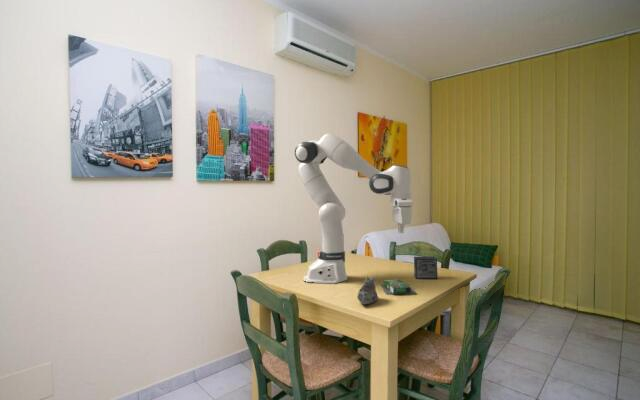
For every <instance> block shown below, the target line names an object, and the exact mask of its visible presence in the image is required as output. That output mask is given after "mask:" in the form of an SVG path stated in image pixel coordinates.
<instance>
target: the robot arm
mask: <svg viewBox="0 0 640 400" xmlns="http://www.w3.org/2000/svg"><path fill="white" fill-rule="evenodd" d="M294 157H295V159H296V161H297V162H299V163H300V164H299V165H298V168H297V169H298V174H299V176H300V178H301V179H300V180H301V181H302V183H303V186H304V187H305V189H306V190H307V192H308V195H309V196H310V197H311V199H312V200H313V201H314V202H315V204H316V205H317V206H318V208H319V209H318V210H319V211H318V219H319V225H320V232H321V240H322V241H321V245H322V246H321V248H322V249H321V250H318V251H317V255H318V258H317V259H316V260H315V261H314V262H313V263H311V264H310V265H309V267H308V268H307V269H308V270H307V273H306V274H305V275H303V279H302V281H303V280H304V281H306V282H305V283H307V282H314V283H313V284H338V283H341V282H345V281H347V280H348V274H347V272H346V271H347V270H346V264H345V263H346V252H345V236H344V231H343V230H344V229H343V224H342V223H343V222H342V221H343V220H344V219H345V217H346V208H345V206H344V205H343V203H342V202H341V200H340V199H339V198H338V196H337V194H336V193H335V192H334V190H333V188H332V187H331V186H330V184H329V182H328V181H327V179H326V177H325V175H324V174H323V172H322V170H321V167H320V165H322V164H323V163H325V161H326V159H329V160H330V161H331V162H333V163H334V164H336V165H337V166H339V167H341V168H343V169H348V170H352V171H354V172H357V173H359V174H362V175H363V176H364V177H365V178H367V179H368V180H369V182H368V185H369V188H370V191H372V193H374V194H376V195H385V196H389V195H390V206H391V207H392V214H391V215H392V221H393V222H396V223H397V224H396V225H397V232H398V233H399V234H404V231H405V225H410V224H411V221H412V207H413V206H414V202H413V200H412V192H411V187H412V176H411V175H412V174H411V170H410V168H409V167H407V166H405V165H400V164H393V165H391V166H390V167H388V169H386V170H384V171H383V170H382V171H381V170H380V169H378V168H377V167H375V166H374V165H373V164H371V163H369V162H368V161H367V160H366V159H365V158H364V157H363V156H361V154H359V153H358V151H356V150H355V148H353V146H351V145H350V144H349V143H348V142H346V141H345V140H343V139H342V138H340V137H339V136H337V135H335V134H332V133H326V134H323V136H322V137H320V139H310V140H307V141H303V142H300V143H299V144H297V145H296V147H295V149H294ZM304 281H303V282H304Z"/></svg>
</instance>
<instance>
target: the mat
mask: <svg viewBox="0 0 640 400" xmlns="http://www.w3.org/2000/svg"><path fill="white" fill-rule="evenodd" d="M405 284H406V285H408V286H410V284H408V283H405ZM383 285H384V284H380V287H381V288H382V290H383V291H384V293H385V294H386V295H394V294H393V293H392V292H390V291H389V290H388V289H387V288H385V287H384V286H383ZM417 294H418V293H417V291H415V289H414V288H412V287H411V293H403V294H402V295H417Z"/></svg>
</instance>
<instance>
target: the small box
mask: <svg viewBox="0 0 640 400" xmlns="http://www.w3.org/2000/svg"><path fill="white" fill-rule="evenodd" d="M413 263H414V264H413V266H414V267H413V268H414V269H413V270H414V271H413V273H414V275H413V276H414V278H415V279H416V280H438V258H437V257H436V256H413Z"/></svg>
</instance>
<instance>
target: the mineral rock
mask: <svg viewBox="0 0 640 400" xmlns="http://www.w3.org/2000/svg"><path fill="white" fill-rule="evenodd" d="M377 299H379V296H378V293H377V290H376V280H375V278H374V276H373V277H372V276H366V278H365V281H364V283H363V284H362V285H361V287H360V288H359V290H358V292H357V300H358V301H359V303H361V304H362V305H369V304H372V303H374V302H375V301H377Z"/></svg>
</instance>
